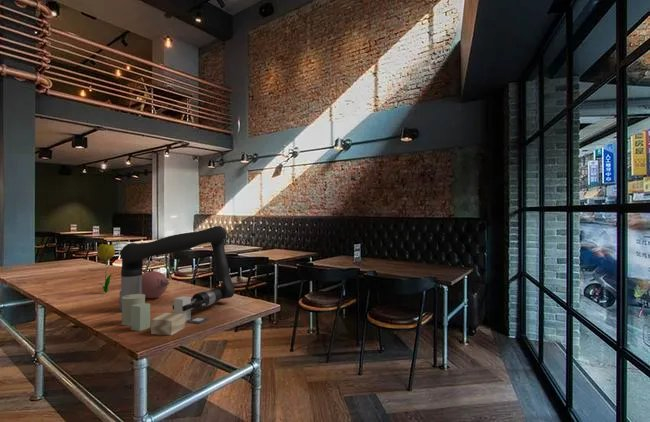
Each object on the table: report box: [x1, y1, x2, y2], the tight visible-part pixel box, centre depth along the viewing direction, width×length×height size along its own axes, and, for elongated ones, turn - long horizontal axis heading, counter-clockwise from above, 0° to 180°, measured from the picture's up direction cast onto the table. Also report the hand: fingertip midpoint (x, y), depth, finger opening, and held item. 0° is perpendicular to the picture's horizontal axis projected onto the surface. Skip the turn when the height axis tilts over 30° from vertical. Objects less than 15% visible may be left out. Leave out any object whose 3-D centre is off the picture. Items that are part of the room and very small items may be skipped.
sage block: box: [130, 302, 151, 332], centre depth 139 cm, size 5×5×10 cm
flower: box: [96, 243, 116, 294], centre depth 201 cm, size 9×8×30 cm
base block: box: [150, 312, 186, 336], centre depth 137 cm, size 9×9×6 cm
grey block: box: [173, 295, 192, 322], centre depth 151 cm, size 5×5×10 cm
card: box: [186, 316, 210, 325], centre depth 149 cm, size 7×6×1 cm
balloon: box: [142, 270, 170, 299], centre depth 189 cm, size 15×20×15 cm
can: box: [120, 294, 146, 327], centre depth 147 cm, size 9×9×12 cm
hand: (178, 308), depth 148 cm, fingers closed on grey block, 5 cm apart
